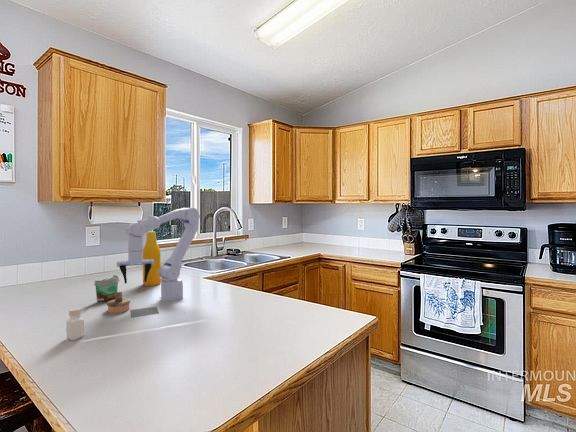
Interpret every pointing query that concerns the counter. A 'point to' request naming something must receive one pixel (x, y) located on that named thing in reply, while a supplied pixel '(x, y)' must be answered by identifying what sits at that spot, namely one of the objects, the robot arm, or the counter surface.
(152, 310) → the mat
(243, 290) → the counter surface
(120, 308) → the bowl
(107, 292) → the food container
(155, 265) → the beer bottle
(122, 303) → the lid
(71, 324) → the salt shaker
